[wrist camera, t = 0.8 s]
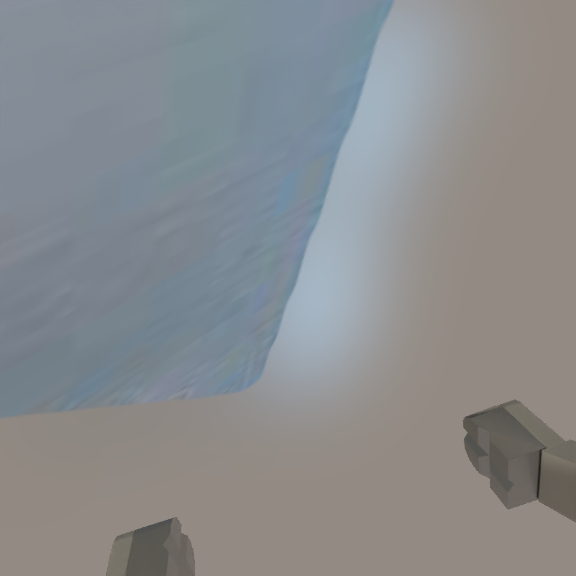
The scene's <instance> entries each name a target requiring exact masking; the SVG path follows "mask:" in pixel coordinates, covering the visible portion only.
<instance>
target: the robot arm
mask: <svg viewBox="0 0 576 576" xmlns="http://www.w3.org/2000/svg"><path fill="white" fill-rule="evenodd" d="M463 427H464V429H465V430H466V431H467V432H468V433H467V435H466V437H465V438H464V444H465V450H466V452H467V455H468V457H469V459H470V461H471V462H472V464H473V466H474V467H475V468H476V470H477V471H478V472H479V473H480V474H482V475H484V476H486V477H488V478H490V488H491V489H492V490H493V491H494V493H495V494H496V495H497V496H498V498H499V499H500V500H501V501H502V503H503V504H504V505H505V507H506V508H507V509H511V508H514V507H517V506H520V505H523V504H526V503H528V502H532V501H535V500H537V499H539V502H541V503H543V504H544V505H546V506H548V507H550V508H551V509H553V510H555V511H557V512H558V513H560V514H562V515H564V516H566V517H567V518H569V519H571V520H572V521H574V522H576V441H573V440H569V441H565V440H564V439H562V438H561V437H560V436H559V435H558V434H557V433H556V432H554V431H553V430H552V429H551V428H550V427H548V426H547V425H546V424H545V423H544V422H543V421H542V420H540V419H539V418H538V417H537V416H536V415H534V414H533V413H532V412H531V411H530V410H529V409H528V408H526V407H525V406H524V405H523V404H522V403H521V402H520V401H517V400H512V401H509V402H506V403H503V404H500V405H498V406H494V407H491V408H488V409H485V410H483V411H480V412H477V413H474V414H471V415H469V416H466V417H465V418H464V420H463ZM106 576H195V560H194V553H193V548H192V545H191V542H190V540H189V538H188V536H187V535H184V534H182V533H181V524H180V522H179V520H178V519H177V517H175V518H172V519H168V520H165V521H162V522H159V523H156V524H153V525H149V526H146V527H143V528H140V529H137V530H134V531H131V532H128V533H125V534H122V535H119V536H117V537H116V539H115V541H114V542H113V545H112V549H111V554H110V558H109V562H108V567H107V571H106Z"/></svg>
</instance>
